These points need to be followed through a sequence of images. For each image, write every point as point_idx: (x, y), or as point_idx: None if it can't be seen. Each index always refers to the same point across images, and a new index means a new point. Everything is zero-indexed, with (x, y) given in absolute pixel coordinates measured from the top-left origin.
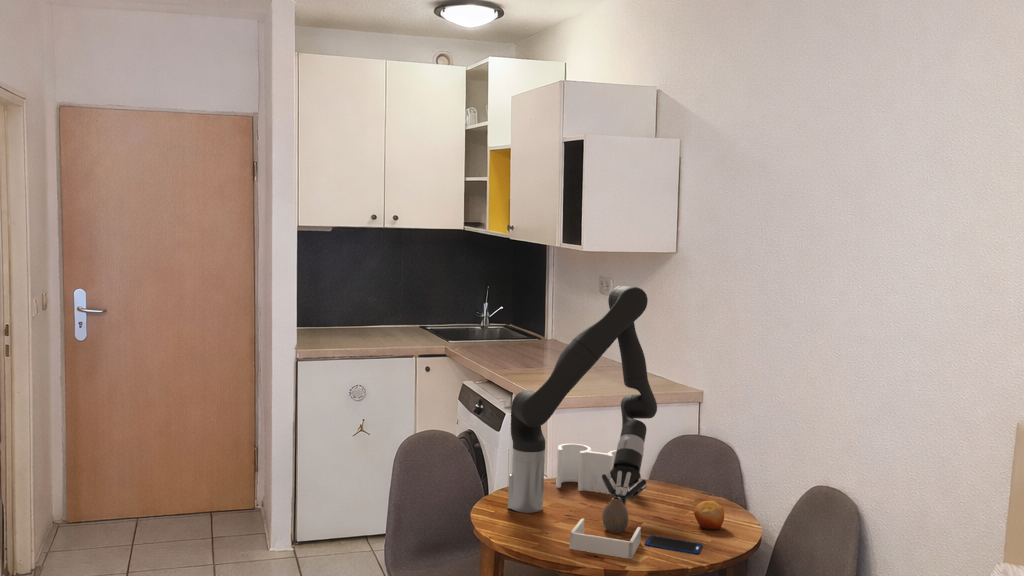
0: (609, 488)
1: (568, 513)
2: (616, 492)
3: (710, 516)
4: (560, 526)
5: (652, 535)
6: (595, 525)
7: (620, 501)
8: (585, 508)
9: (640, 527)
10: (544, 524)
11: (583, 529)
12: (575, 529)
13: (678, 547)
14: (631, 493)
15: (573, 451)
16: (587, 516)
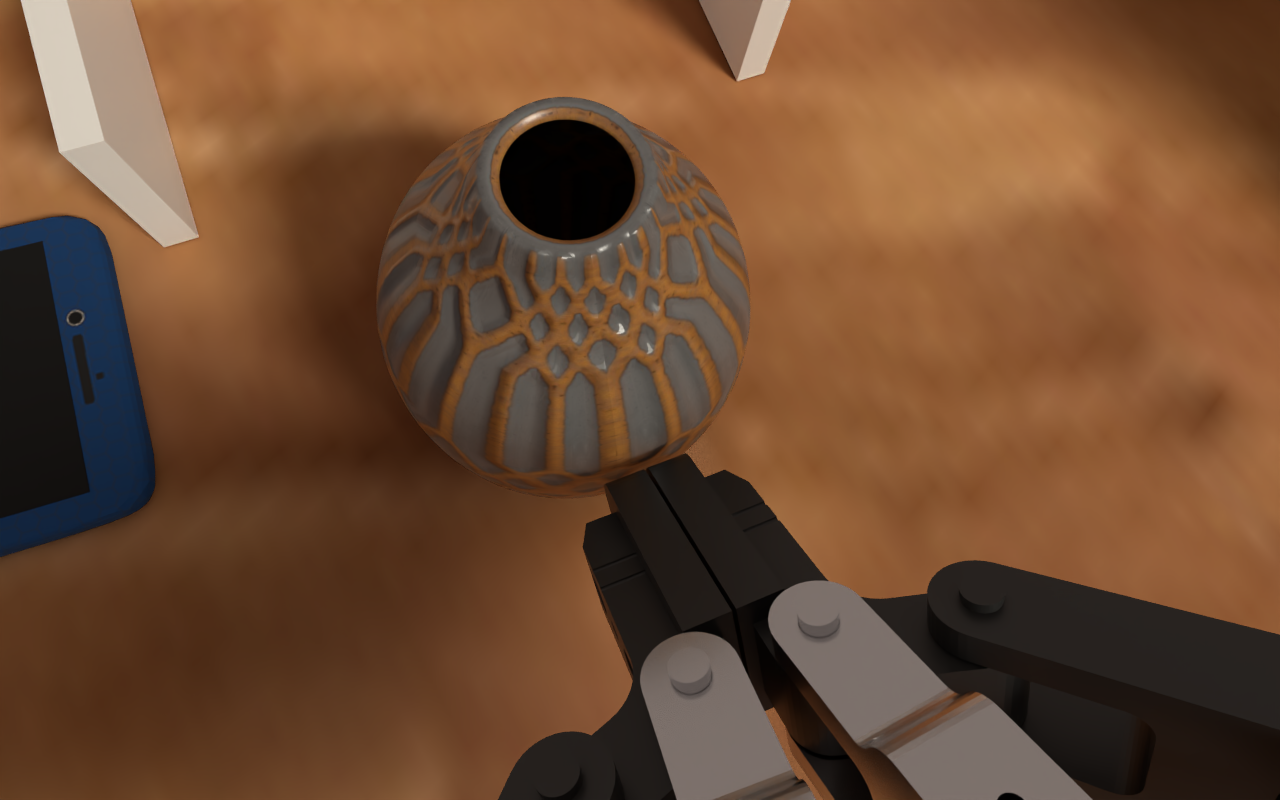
0: (1047, 587)
1: (1241, 462)
2: (848, 606)
3: None
4: (1009, 98)
5: (113, 509)
6: (808, 356)
7: (466, 180)
8: None
9: (63, 146)
10: (1131, 46)
11: (740, 31)
12: None
13: None
14: (535, 767)
15: None
16: (1054, 539)
